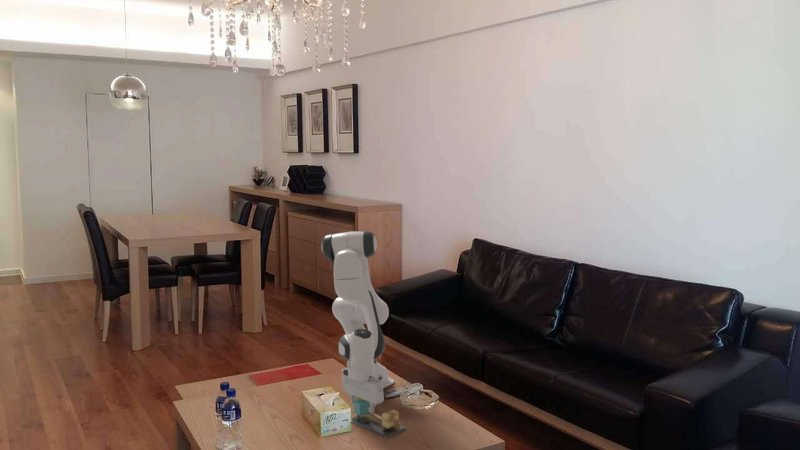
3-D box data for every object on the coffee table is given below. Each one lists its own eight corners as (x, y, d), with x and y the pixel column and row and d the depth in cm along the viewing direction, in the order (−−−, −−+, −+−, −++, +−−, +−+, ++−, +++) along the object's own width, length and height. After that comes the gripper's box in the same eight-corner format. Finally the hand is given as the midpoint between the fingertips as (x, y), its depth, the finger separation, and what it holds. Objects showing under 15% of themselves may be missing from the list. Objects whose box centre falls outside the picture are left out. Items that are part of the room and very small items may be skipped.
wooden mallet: (365, 413, 256) (365, 398, 255) (400, 428, 242) (400, 412, 242) (354, 417, 252) (354, 402, 251) (389, 433, 238) (389, 416, 238)
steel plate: (369, 414, 258) (369, 411, 258) (406, 429, 244) (406, 426, 244) (349, 421, 251) (349, 418, 251) (386, 438, 237) (386, 435, 237)
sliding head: (365, 413, 256) (365, 397, 255) (370, 415, 254) (370, 400, 253) (354, 417, 252) (354, 401, 251) (359, 419, 250) (359, 403, 249)
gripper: (387, 378, 246) (387, 414, 247) (351, 365, 260) (351, 399, 262) (374, 382, 241) (374, 419, 243) (338, 368, 256) (339, 403, 257)
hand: (362, 409), depth 252 cm, fingers open, 8 cm apart
